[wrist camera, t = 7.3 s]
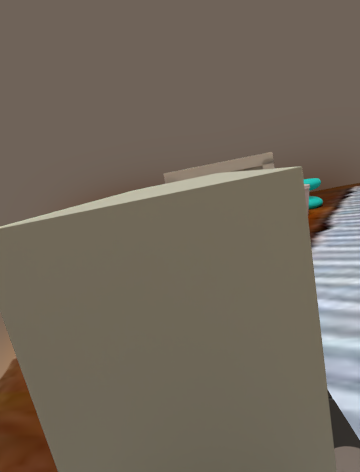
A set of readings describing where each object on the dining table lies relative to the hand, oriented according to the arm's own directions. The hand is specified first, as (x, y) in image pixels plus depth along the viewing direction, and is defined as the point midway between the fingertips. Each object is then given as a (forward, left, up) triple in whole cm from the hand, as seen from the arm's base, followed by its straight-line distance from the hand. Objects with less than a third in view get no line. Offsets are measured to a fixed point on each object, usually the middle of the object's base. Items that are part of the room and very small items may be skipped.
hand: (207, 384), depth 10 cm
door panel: (0, 0, -9) cm, 9 cm away
